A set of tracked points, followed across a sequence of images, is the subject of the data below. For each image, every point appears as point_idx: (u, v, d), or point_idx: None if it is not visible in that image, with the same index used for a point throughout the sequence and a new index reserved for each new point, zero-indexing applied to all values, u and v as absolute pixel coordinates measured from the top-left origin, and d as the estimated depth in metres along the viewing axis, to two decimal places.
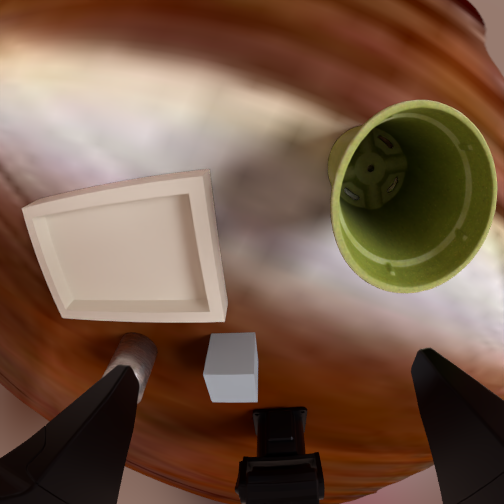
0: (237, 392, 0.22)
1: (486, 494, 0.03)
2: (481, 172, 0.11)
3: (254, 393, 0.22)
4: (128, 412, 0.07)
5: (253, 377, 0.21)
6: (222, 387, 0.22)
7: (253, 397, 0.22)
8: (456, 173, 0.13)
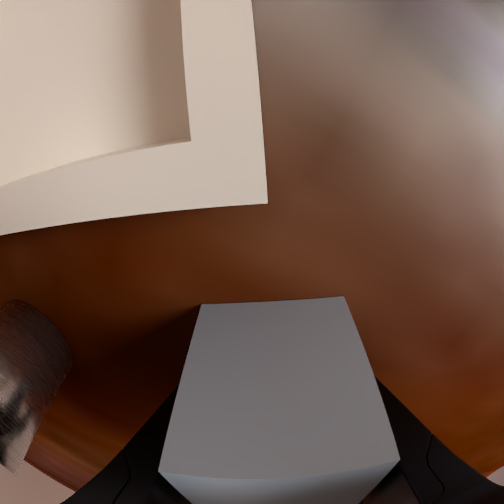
0: None
1: None
2: None
3: (358, 498, 0.04)
4: None
5: (388, 468, 0.04)
6: (245, 501, 0.04)
7: None
8: None
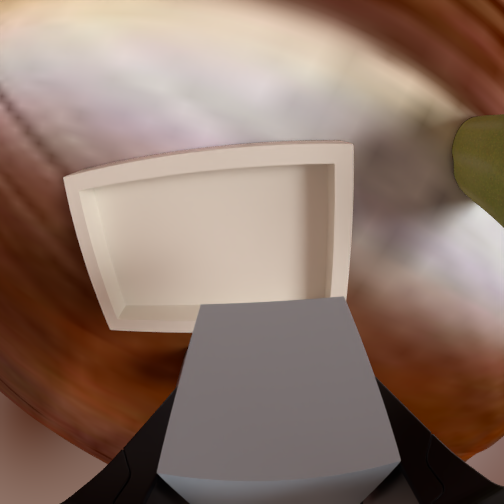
0: None
1: None
2: None
3: (359, 500, 0.04)
4: None
5: (388, 469, 0.03)
6: (245, 503, 0.04)
7: None
8: None
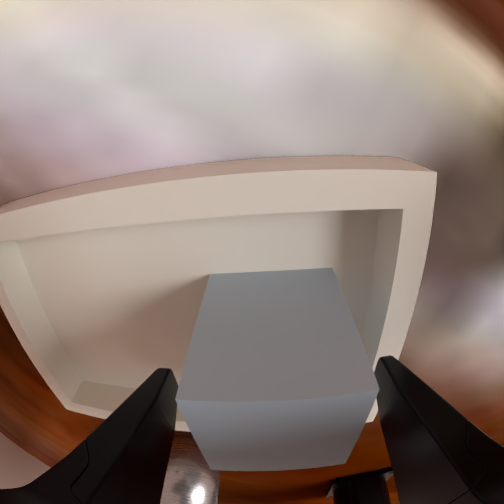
0: (296, 450, 0.06)
1: None
2: None
3: (349, 446, 0.06)
4: (170, 418, 0.07)
5: (370, 401, 0.05)
6: (248, 440, 0.06)
7: (340, 456, 0.06)
8: None
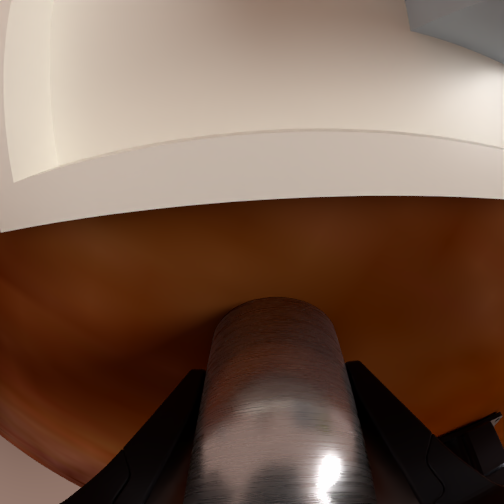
0: None
1: None
2: None
3: None
4: None
5: None
6: None
7: None
8: None
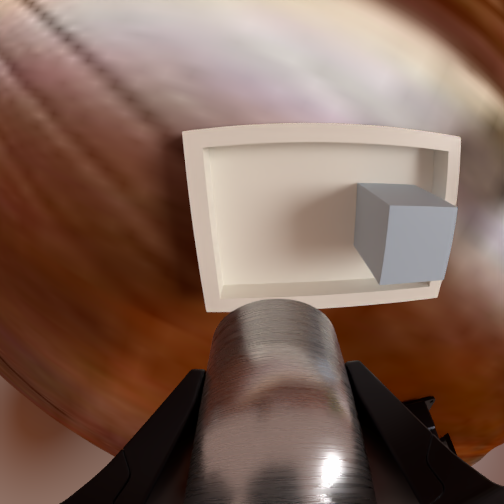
0: (426, 254, 0.12)
1: None
2: None
3: (447, 256, 0.12)
4: None
5: (455, 216, 0.11)
6: (409, 241, 0.12)
7: (442, 268, 0.13)
8: None
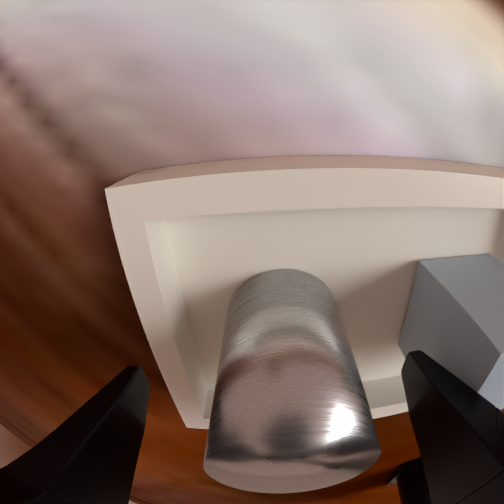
0: None
1: (474, 501, 0.03)
2: None
3: None
4: (139, 414, 0.07)
5: None
6: (501, 384, 0.05)
7: None
8: None
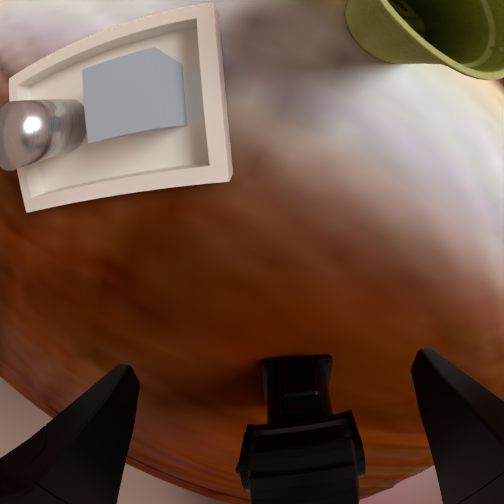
0: (126, 102, 0.11)
1: (486, 494, 0.03)
2: None
3: (155, 99, 0.11)
4: (128, 412, 0.07)
5: (153, 56, 0.10)
6: (105, 93, 0.11)
7: (153, 114, 0.11)
8: (472, 5, 0.07)
